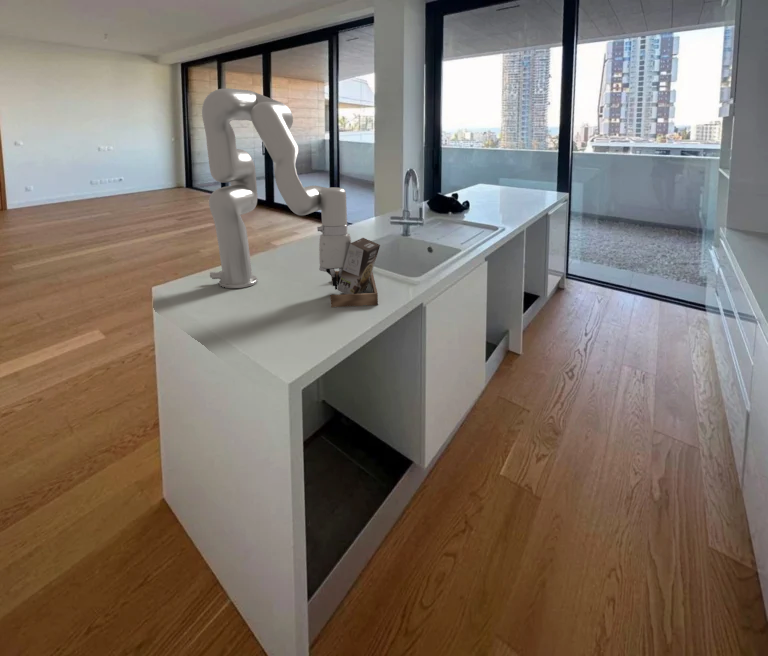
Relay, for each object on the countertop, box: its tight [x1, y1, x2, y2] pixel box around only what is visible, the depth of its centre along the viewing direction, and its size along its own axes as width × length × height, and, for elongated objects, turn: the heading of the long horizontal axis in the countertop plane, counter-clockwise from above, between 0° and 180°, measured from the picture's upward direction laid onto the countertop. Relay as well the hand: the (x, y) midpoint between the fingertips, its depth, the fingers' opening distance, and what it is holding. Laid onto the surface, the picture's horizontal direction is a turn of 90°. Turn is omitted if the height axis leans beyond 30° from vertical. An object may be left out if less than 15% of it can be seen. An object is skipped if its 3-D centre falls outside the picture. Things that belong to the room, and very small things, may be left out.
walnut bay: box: [329, 270, 379, 308], centre depth 157 cm, size 14×26×4 cm, turn 5°
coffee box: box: [337, 237, 381, 294], centre depth 153 cm, size 9×6×16 cm
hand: (337, 288), depth 157 cm, fingers closed
